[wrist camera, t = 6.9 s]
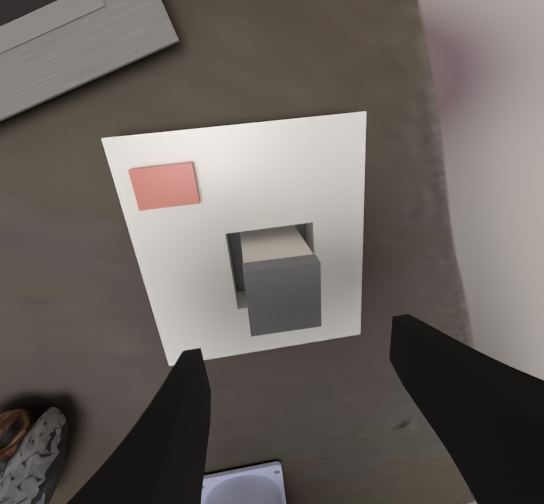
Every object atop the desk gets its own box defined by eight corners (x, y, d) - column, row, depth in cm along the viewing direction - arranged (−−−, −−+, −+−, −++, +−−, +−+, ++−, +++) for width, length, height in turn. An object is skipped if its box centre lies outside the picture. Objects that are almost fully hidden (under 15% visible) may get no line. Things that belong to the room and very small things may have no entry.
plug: (297, 273, 21) (321, 326, 15) (245, 280, 20) (251, 336, 15) (294, 224, 19) (320, 262, 14) (239, 230, 19) (242, 272, 14)
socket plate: (347, 314, 23) (363, 339, 20) (175, 341, 22) (167, 372, 19) (349, 113, 17) (371, 110, 15) (118, 136, 16) (95, 138, 14)
